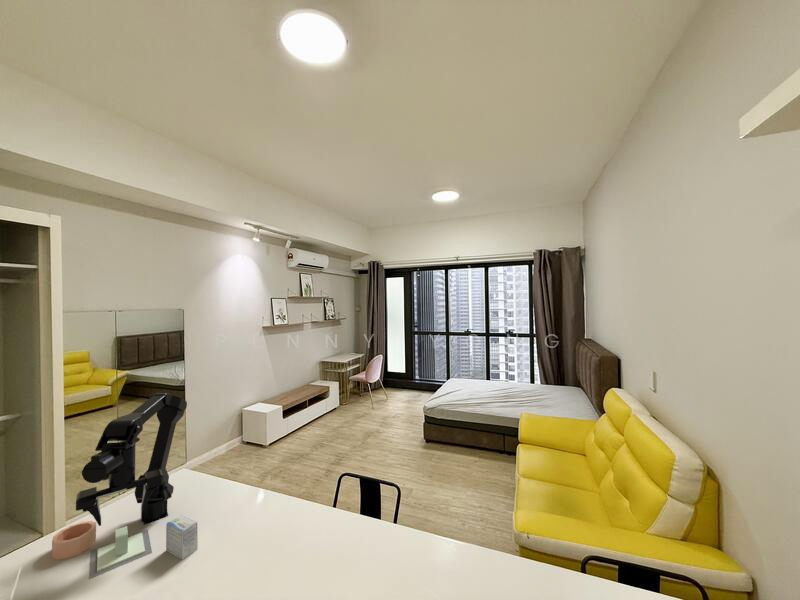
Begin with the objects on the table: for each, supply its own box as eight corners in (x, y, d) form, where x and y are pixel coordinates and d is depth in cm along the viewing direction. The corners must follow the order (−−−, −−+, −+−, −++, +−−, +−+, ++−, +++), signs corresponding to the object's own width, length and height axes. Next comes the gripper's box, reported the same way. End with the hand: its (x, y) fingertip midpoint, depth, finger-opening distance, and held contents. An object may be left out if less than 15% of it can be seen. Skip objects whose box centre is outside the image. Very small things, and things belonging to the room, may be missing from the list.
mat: (147, 530, 101) (147, 529, 101) (152, 554, 92) (152, 552, 92) (90, 552, 92) (90, 550, 92) (89, 580, 83) (89, 579, 83)
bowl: (96, 533, 100) (96, 517, 100) (95, 549, 93) (95, 532, 94) (54, 547, 94) (54, 530, 94) (50, 566, 87) (50, 548, 87)
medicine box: (198, 550, 93) (198, 521, 93) (182, 562, 89) (182, 530, 89) (181, 542, 96) (181, 513, 97) (165, 552, 92) (165, 522, 93)
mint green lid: (142, 533, 99) (142, 516, 99) (144, 552, 92) (145, 533, 92) (97, 550, 92) (98, 531, 92) (97, 572, 85) (97, 551, 85)
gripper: (159, 444, 105) (158, 492, 105) (78, 464, 92) (78, 518, 92) (163, 456, 96) (163, 508, 96) (75, 479, 84) (75, 539, 84)
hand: (121, 517), depth 92 cm, fingers open, 9 cm apart
